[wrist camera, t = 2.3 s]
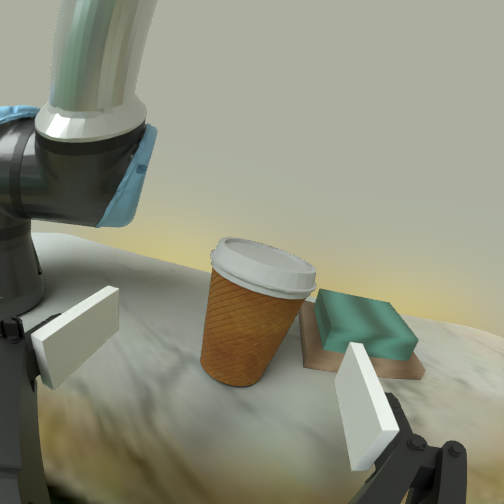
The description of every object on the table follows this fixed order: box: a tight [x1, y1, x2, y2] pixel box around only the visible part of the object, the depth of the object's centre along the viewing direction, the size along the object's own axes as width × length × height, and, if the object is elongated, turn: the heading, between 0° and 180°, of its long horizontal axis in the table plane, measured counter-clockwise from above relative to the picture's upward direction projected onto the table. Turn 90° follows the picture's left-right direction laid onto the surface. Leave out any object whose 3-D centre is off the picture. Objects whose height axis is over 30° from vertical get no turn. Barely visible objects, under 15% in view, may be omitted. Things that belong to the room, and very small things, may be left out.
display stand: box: [299, 289, 426, 380], centre depth 36 cm, size 16×16×5 cm
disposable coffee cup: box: [200, 237, 316, 386], centre depth 25 cm, size 10×10×12 cm
